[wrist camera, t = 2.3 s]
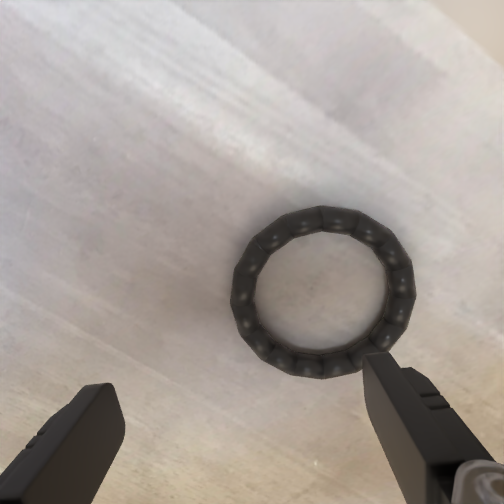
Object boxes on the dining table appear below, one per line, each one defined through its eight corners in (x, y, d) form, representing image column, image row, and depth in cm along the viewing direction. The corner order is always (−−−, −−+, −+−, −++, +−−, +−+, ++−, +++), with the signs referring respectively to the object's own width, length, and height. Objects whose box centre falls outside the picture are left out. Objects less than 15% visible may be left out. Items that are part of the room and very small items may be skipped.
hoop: (202, 320, 17) (198, 331, 15) (291, 170, 14) (294, 170, 13) (342, 394, 17) (347, 410, 16) (445, 263, 15) (460, 271, 14)
